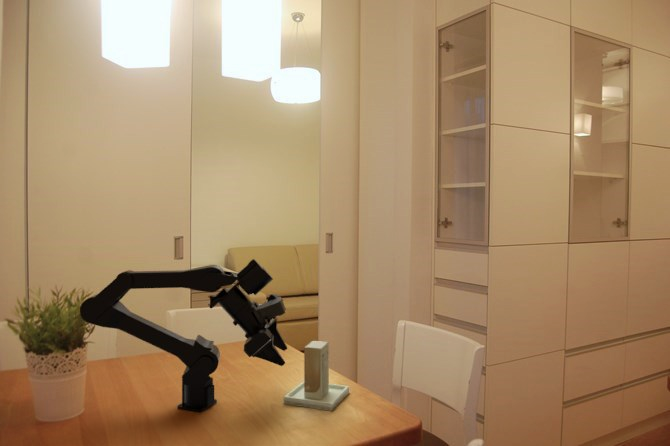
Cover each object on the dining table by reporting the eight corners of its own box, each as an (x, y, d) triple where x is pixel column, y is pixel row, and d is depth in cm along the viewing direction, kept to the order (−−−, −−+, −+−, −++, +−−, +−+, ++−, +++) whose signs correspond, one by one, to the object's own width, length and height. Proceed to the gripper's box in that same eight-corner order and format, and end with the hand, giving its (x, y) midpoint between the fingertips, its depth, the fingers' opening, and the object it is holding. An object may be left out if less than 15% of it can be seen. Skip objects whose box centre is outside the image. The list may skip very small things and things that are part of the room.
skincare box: (312, 389, 115) (312, 339, 115) (329, 391, 114) (329, 341, 114) (303, 398, 109) (303, 346, 109) (320, 400, 107) (320, 348, 107)
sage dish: (283, 403, 108) (283, 396, 108) (304, 386, 119) (304, 380, 119) (331, 410, 104) (331, 403, 104) (349, 392, 115) (349, 386, 115)
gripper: (262, 296, 99) (310, 349, 101) (270, 277, 117) (310, 322, 119) (223, 330, 99) (271, 382, 101) (236, 306, 118) (277, 350, 119)
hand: (284, 356), depth 110 cm, fingers open, 9 cm apart
